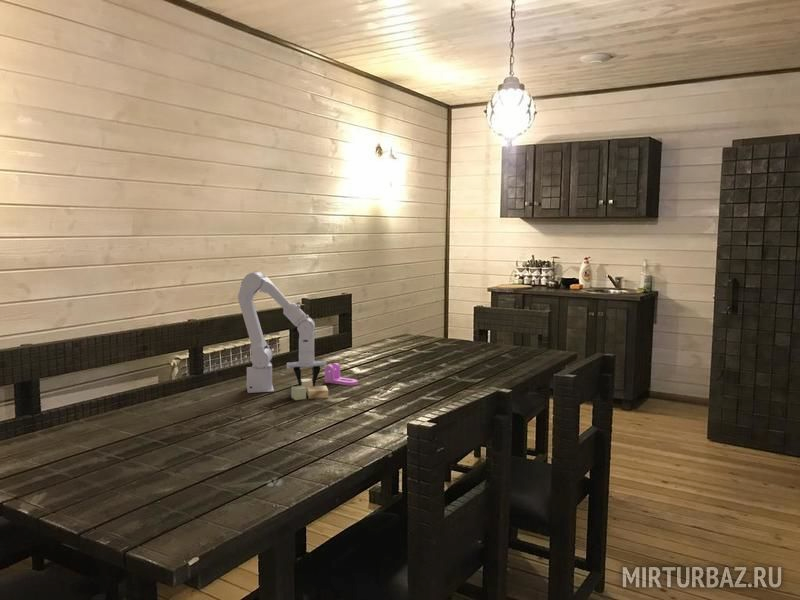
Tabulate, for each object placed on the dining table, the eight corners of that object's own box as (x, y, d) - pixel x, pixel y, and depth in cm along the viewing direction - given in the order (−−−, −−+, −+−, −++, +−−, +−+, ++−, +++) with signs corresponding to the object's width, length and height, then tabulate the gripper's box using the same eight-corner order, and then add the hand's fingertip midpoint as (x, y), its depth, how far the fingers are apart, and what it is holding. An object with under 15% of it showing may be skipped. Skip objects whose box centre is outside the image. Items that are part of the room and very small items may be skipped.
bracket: (324, 382, 251) (324, 365, 250) (332, 379, 256) (332, 362, 255) (352, 386, 245) (352, 368, 244) (360, 383, 250) (360, 366, 249)
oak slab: (308, 399, 227) (308, 391, 226) (306, 394, 233) (306, 386, 233) (328, 398, 228) (328, 390, 228) (326, 393, 235) (326, 385, 235)
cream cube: (301, 392, 235) (301, 381, 235) (300, 389, 239) (300, 379, 239) (312, 391, 236) (312, 381, 236) (311, 389, 240) (311, 378, 240)
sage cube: (295, 400, 224) (295, 389, 224) (291, 397, 228) (291, 386, 227) (306, 399, 226) (306, 388, 226) (302, 396, 230) (301, 385, 229)
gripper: (287, 353, 230) (288, 390, 232) (327, 352, 234) (327, 388, 236) (286, 350, 237) (286, 385, 239) (324, 348, 241) (324, 383, 242)
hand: (306, 386), depth 238 cm, fingers open, 4 cm apart
